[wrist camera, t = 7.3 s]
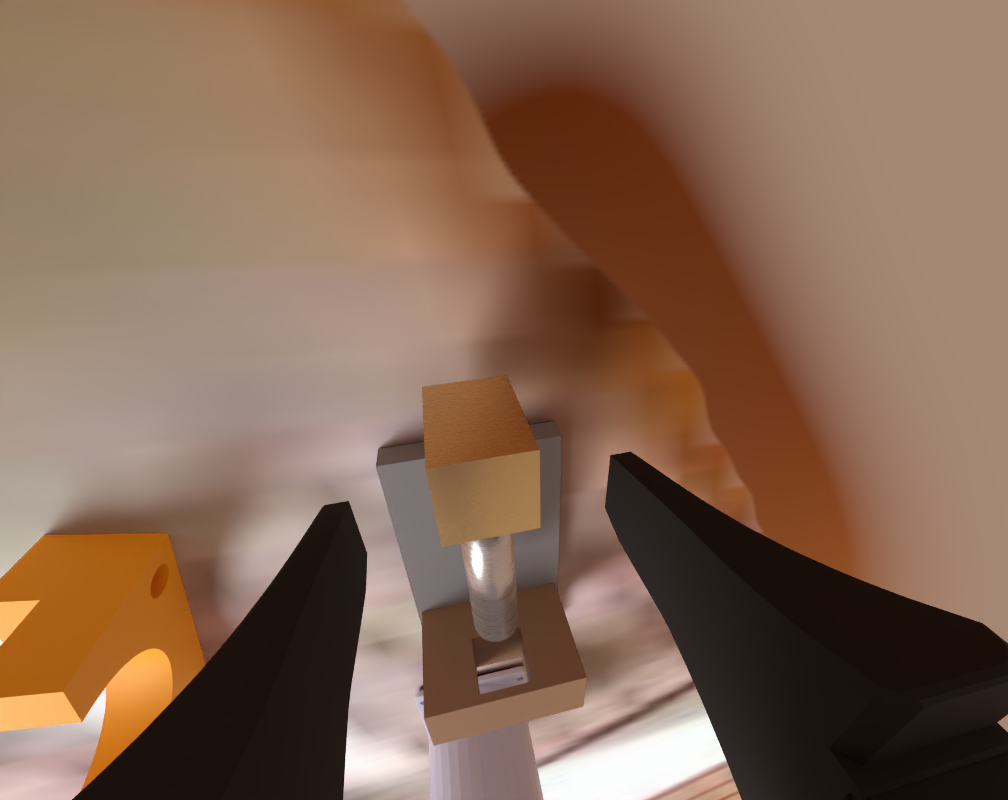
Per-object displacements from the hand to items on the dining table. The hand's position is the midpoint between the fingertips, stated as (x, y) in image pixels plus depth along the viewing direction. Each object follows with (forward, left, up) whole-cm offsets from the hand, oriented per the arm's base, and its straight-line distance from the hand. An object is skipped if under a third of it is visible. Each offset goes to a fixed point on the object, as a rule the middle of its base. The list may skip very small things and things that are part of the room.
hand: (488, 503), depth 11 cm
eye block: (-9, 0, -7) cm, 12 cm away
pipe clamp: (-10, +17, -7) cm, 21 cm away
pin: (-4, 0, -5) cm, 6 cm away
